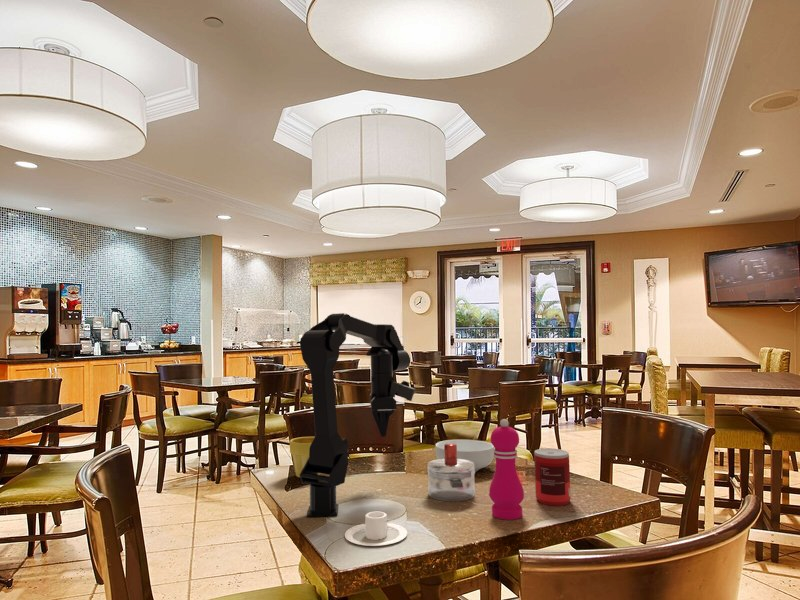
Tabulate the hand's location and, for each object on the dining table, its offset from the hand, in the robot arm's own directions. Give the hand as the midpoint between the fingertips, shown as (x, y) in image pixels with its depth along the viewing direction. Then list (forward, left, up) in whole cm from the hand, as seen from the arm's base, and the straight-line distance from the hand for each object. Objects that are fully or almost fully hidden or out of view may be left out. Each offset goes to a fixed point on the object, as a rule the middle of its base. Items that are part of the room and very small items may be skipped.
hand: (382, 433), depth 138 cm
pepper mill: (-27, -25, -13) cm, 39 cm away
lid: (-11, -16, -8) cm, 21 cm away
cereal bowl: (+12, -24, -13) cm, 30 cm away
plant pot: (+12, +20, -13) cm, 27 cm away
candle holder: (-35, +3, -14) cm, 38 cm away
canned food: (-19, -38, -13) cm, 44 cm away
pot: (-11, -16, -13) cm, 23 cm away
